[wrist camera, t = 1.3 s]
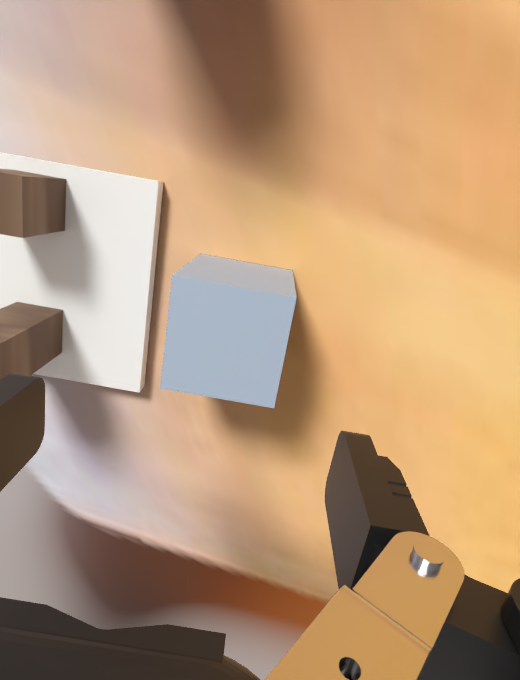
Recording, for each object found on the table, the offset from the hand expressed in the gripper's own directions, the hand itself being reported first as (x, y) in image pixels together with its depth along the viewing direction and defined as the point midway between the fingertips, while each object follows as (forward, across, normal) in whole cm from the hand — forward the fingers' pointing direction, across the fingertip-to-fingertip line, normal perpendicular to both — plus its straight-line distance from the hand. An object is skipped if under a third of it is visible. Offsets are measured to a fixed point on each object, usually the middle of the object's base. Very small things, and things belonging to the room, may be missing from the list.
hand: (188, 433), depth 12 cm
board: (+14, +11, 0) cm, 18 cm away
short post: (+14, +11, -4) cm, 18 cm away
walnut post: (+14, +11, +3) cm, 18 cm away
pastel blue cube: (+14, 0, 0) cm, 14 cm away
